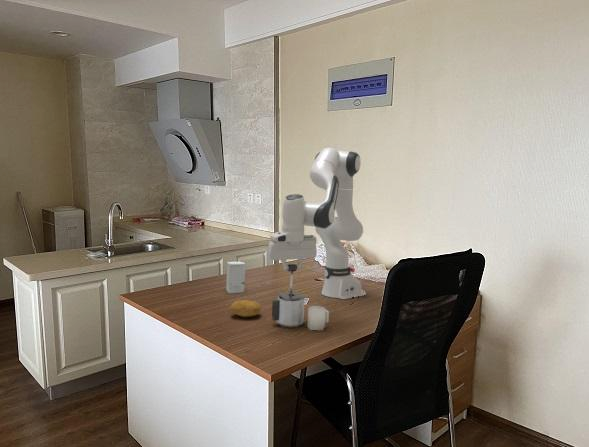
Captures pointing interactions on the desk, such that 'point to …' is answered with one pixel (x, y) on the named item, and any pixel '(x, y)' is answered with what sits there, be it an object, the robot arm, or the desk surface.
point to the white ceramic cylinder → (317, 317)
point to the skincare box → (235, 277)
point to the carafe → (288, 309)
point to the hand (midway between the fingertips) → (291, 269)
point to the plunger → (291, 276)
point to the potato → (246, 308)
